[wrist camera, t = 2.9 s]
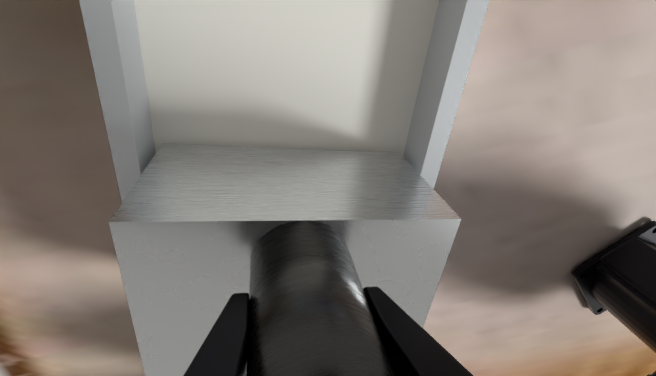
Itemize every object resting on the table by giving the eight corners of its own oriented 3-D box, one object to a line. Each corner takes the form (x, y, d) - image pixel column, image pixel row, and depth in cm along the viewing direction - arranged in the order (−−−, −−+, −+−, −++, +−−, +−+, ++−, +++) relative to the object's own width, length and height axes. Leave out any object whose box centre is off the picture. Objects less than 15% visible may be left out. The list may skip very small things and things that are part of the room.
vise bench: (69, -245, 9) (-509, -1001, 2) (485, -142, 12) (799, -342, 5) (182, 419, 25) (153, 581, 18) (352, 397, 27) (383, 531, 20)
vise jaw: (162, 143, 13) (-50, 451, 4) (398, 151, 15) (602, 369, 6) (181, 291, 17) (92, 623, 8) (369, 281, 19) (469, 535, 10)
